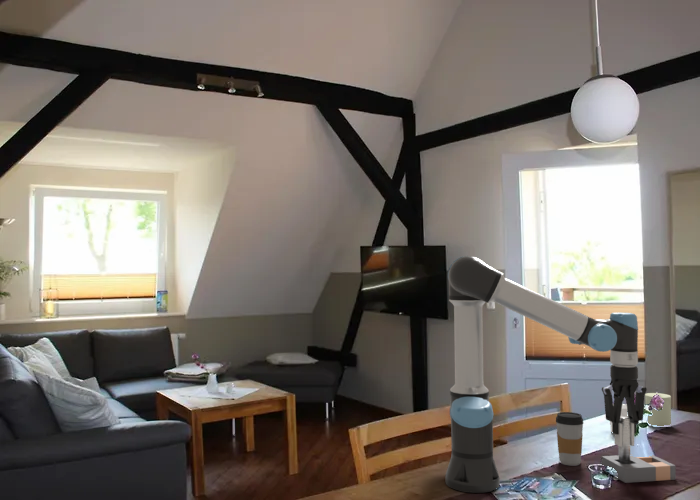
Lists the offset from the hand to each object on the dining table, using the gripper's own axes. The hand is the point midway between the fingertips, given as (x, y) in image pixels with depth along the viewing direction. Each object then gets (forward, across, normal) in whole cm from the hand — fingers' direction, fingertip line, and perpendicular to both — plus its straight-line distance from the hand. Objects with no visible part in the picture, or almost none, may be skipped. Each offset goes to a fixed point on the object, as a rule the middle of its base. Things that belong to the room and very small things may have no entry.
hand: (624, 444), depth 190 cm
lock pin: (+6, 0, 0) cm, 6 cm away
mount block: (+9, +4, 0) cm, 10 cm away
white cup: (+9, +26, +43) cm, 51 cm away
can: (+9, +47, +51) cm, 70 cm away
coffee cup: (+9, -10, +14) cm, 19 cm away
